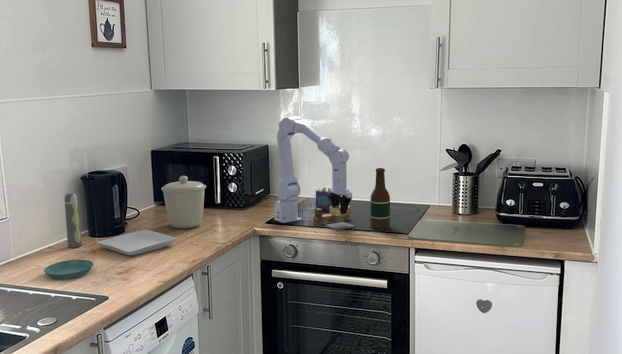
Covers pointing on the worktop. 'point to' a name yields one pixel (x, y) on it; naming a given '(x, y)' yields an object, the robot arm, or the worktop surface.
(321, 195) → the flask
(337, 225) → the mat
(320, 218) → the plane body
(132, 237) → the salad plate
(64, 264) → the saucer
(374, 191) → the beer bottle
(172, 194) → the canister
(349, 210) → the pale yellow block
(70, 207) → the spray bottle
